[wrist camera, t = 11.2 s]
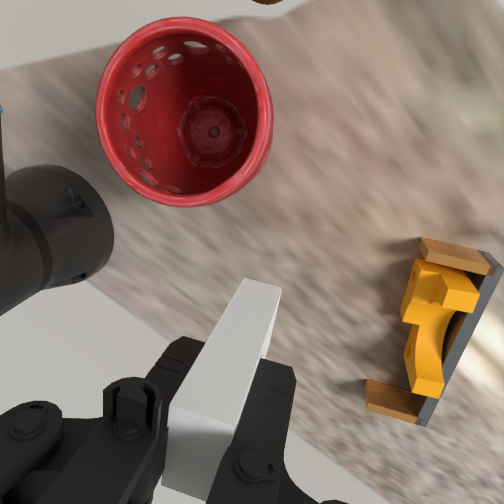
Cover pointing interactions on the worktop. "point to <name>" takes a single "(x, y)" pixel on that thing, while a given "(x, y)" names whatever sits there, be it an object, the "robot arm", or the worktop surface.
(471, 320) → the keeper bracket
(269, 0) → the disposable coffee cup
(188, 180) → the plant pot
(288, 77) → the worktop surface
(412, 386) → the pipe clamp
